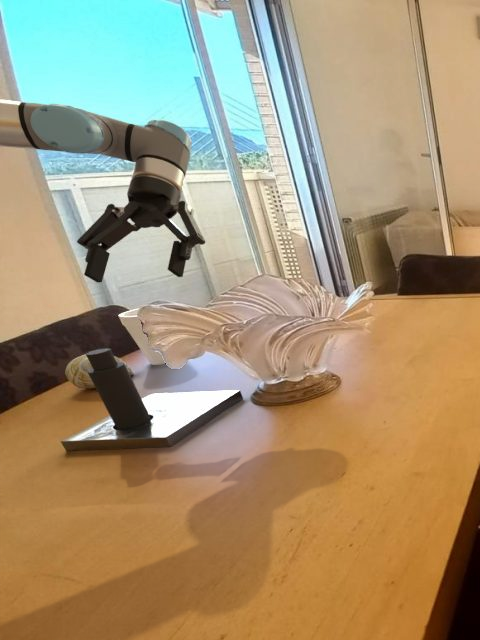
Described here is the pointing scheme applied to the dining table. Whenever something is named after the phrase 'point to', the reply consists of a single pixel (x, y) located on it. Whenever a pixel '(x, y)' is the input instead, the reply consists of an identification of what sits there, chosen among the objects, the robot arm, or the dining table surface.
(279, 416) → the dining table surface
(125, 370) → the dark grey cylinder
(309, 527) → the dining table surface
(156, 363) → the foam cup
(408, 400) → the dining table surface
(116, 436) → the plate
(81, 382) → the seashell
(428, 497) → the dining table surface
